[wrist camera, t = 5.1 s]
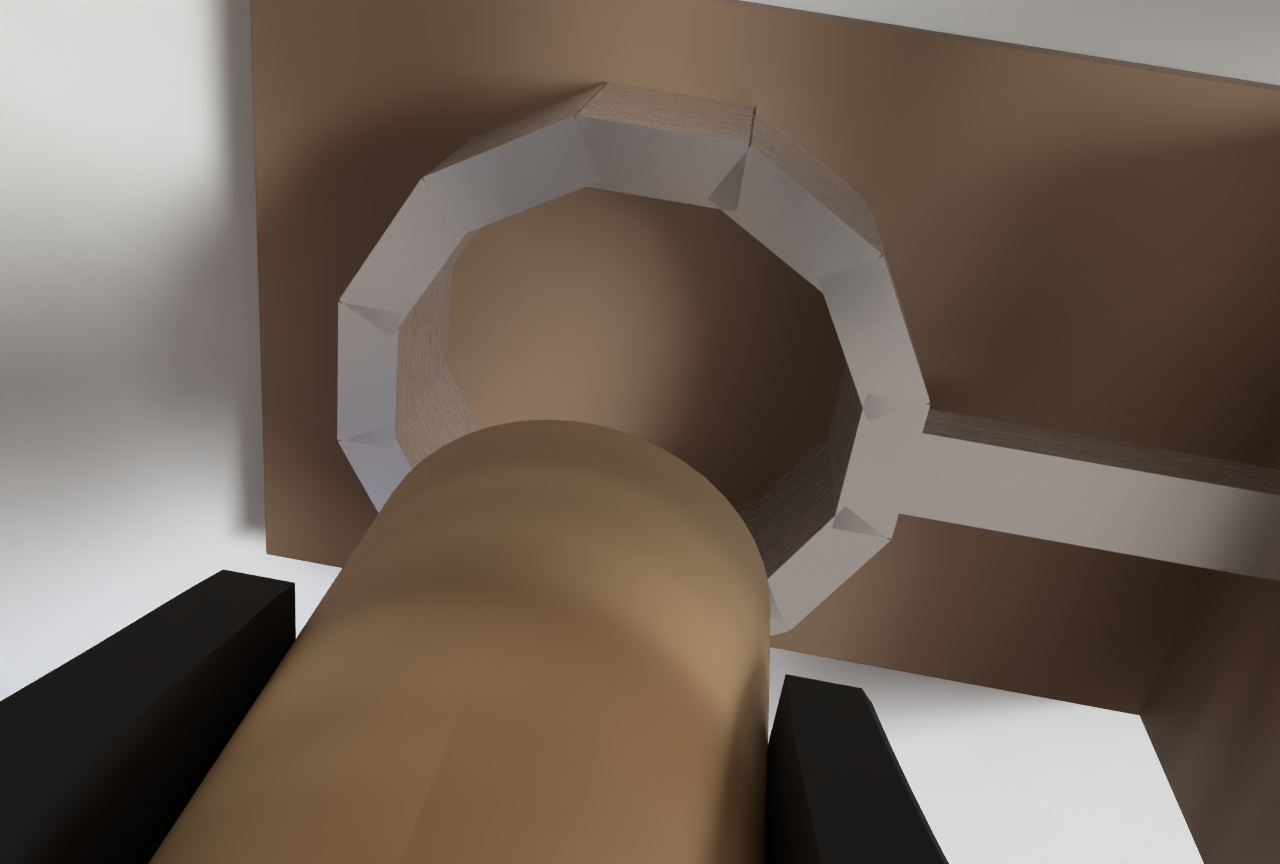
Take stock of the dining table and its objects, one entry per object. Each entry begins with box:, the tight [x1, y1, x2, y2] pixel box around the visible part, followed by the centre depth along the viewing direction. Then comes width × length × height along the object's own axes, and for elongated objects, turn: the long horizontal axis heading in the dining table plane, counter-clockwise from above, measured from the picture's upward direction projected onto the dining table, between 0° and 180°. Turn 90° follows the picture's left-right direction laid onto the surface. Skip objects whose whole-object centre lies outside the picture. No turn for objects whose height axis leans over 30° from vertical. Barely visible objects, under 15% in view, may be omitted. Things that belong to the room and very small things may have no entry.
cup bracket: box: [251, 0, 1280, 864], centre depth 14 cm, size 16×10×6 cm, turn 82°
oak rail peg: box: [149, 419, 771, 864], centre depth 8 cm, size 4×4×6 cm
